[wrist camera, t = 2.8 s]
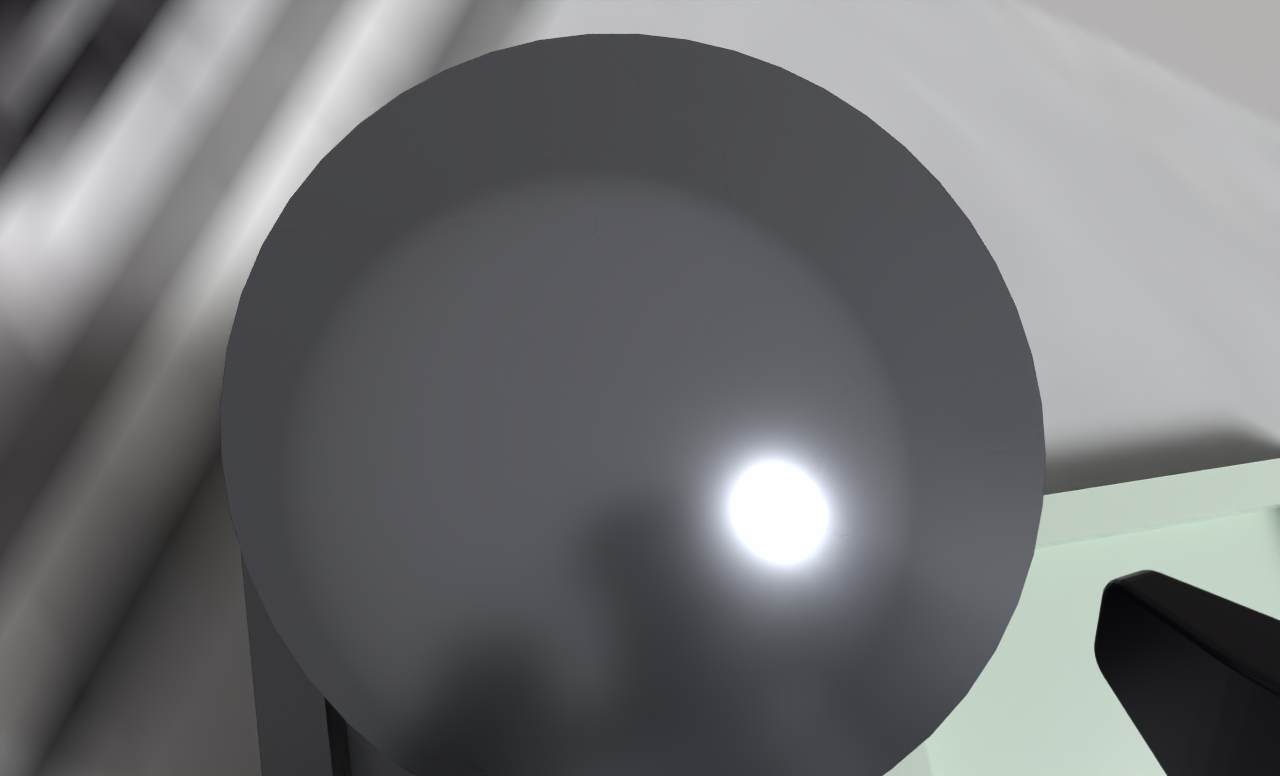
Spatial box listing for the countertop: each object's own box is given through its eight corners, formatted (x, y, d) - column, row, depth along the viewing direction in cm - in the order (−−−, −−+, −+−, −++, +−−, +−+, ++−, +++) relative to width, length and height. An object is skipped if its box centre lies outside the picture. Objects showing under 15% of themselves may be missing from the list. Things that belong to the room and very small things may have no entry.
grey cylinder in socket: (734, 792, 19) (1380, 931, 6) (307, 879, 18) (9, 1287, 5) (660, 394, 21) (1057, -147, 8) (263, 445, 19) (-50, -113, 6)
